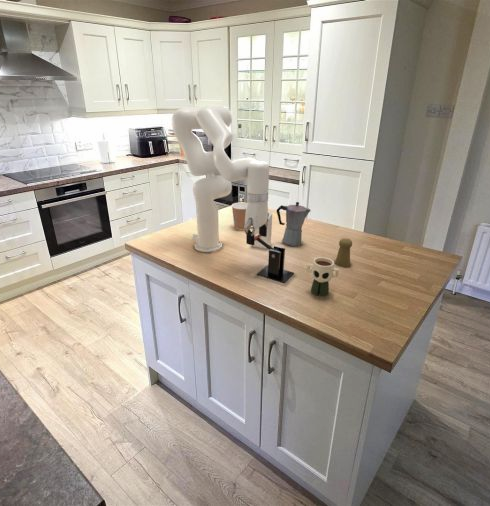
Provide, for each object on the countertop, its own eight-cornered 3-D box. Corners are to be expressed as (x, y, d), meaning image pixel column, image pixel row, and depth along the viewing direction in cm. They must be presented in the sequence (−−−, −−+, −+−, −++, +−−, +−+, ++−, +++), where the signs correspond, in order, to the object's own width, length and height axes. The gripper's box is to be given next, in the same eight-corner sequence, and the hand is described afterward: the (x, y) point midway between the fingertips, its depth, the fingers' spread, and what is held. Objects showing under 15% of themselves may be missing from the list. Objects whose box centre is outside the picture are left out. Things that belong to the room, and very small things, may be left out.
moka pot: (308, 247, 160) (313, 205, 152) (275, 246, 161) (277, 205, 152) (305, 239, 169) (309, 199, 160) (274, 238, 169) (276, 198, 161)
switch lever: (250, 241, 133) (252, 236, 131) (256, 236, 136) (259, 232, 135) (275, 260, 130) (278, 255, 128) (281, 255, 134) (284, 250, 132)
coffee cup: (233, 223, 187) (233, 201, 182) (252, 224, 186) (252, 202, 180) (229, 230, 178) (229, 207, 173) (249, 231, 177) (250, 209, 171)
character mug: (302, 295, 123) (305, 263, 118) (306, 286, 129) (309, 254, 124) (333, 302, 120) (338, 269, 114) (336, 292, 126) (341, 260, 120)
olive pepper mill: (341, 268, 142) (345, 243, 138) (332, 261, 147) (335, 238, 143) (353, 265, 145) (357, 240, 140) (342, 259, 150) (346, 235, 145)
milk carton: (270, 244, 163) (272, 205, 155) (266, 250, 157) (268, 210, 149) (256, 242, 165) (257, 203, 157) (251, 247, 159) (252, 208, 151)
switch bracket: (256, 277, 135) (257, 249, 130) (267, 267, 142) (268, 241, 137) (284, 285, 129) (286, 257, 124) (294, 275, 136) (296, 248, 131)
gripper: (260, 190, 135) (258, 231, 142) (236, 201, 122) (236, 245, 129) (277, 192, 131) (275, 234, 139) (255, 204, 118) (254, 250, 125)
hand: (256, 240), depth 134 cm, fingers open, 9 cm apart
